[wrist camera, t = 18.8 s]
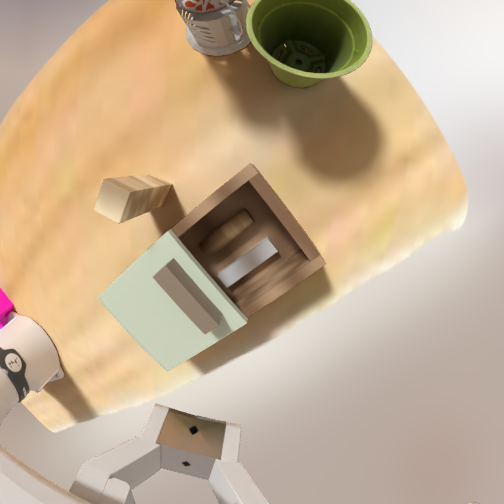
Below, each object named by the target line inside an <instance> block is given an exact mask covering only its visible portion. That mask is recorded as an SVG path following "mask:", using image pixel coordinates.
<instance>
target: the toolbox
mask: <svg viewBox="0 0 504 504" xmlns="http://www.w3.org/2000/svg"><path fill="white" fill-rule="evenodd" d="M171 230H172V231H173V232H174V234H175V235H176V236H177V237H178V238H179V240H180V241H181V242H182V243H183V245H184V246H185V247H186V248H187V249H188V251H189V252H190V253H191V254H192V255H193V257H194V258H195V259H196V260H197V261H198V262H199V264H200V265H201V266H202V267H203V268H204V270H205V271H206V272H207V273H208V274H209V275H210V277H211V278H212V279H213V280H214V281H215V282H216V284H217V285H218V286H219V287H220V288H221V289H222V290H223V292H224V293H225V294H226V295H227V296H228V297H229V298H230V300H231V301H232V302H233V303H234V304H235V305H236V306H237V307H238V309H239V310H240V311H241V312H242V313H243V314H244V315H245V316H246V317H247V318H248V317H249V316H251V315H252V314H254V313H255V312H257V311H258V310H260V309H261V308H263V307H264V306H266V305H267V304H269V303H270V302H272V301H273V300H275V299H276V298H278V297H279V296H281V295H282V294H284V293H285V292H287V291H288V290H290V289H291V288H293V287H294V286H295V285H297V284H298V283H300V282H301V281H303V280H304V279H306V278H307V277H308V276H310V275H311V274H313V273H314V272H315V271H317V270H318V269H320V268H321V267H323V266H324V265H325V264H326V263H325V261H324V259H323V258H322V256H321V254H320V253H319V251H318V249H317V248H316V246H315V245H314V243H313V242H312V241H311V239H310V238H309V237H308V235H307V234H306V233H305V231H304V230H303V228H302V227H301V226H300V224H299V223H298V222H297V220H296V219H295V218H294V216H293V215H292V214H291V212H290V211H289V210H288V208H287V207H286V206H285V204H284V203H283V202H282V200H281V199H280V198H279V197H278V195H277V194H276V193H275V191H274V190H273V189H272V188H271V186H270V185H269V184H268V182H267V181H266V180H265V179H264V177H263V176H262V175H261V174H260V172H259V171H258V170H257V169H256V167H255V166H254V165H253V164H251V163H250V164H249V165H248V166H247V167H245V168H244V169H243V170H241V171H240V172H239V173H238V174H236V175H235V176H234V177H233V178H231V179H230V180H229V181H228V182H226V183H225V184H224V185H223V186H221V187H220V188H219V189H218V190H216V191H215V192H214V193H213V194H211V195H210V196H209V197H208V198H207V199H205V200H204V201H203V202H202V203H201V204H199V205H198V206H197V207H196V208H195V209H194V210H192V211H191V212H190V213H189V214H188V215H187V216H185V217H184V218H183V219H182V220H181V221H180V222H178V223H177V224H176V225H175V226H174V227H173V228H172V229H171Z"/></svg>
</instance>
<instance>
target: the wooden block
mask: <svg viewBox="0 0 504 504" xmlns="http://www.w3.org/2000/svg"><path fill="white" fill-rule="evenodd" d="M171 186H172V184H171V183H169V182H167V181H165V180H163V179H160V178H158V177H156V176H154V175H152V174H151V175H139V176H128V177H118V178H109V179H104V180H103V183H102V186H101V189H100V192H99V195H98V198H97V202H96V205H95V208H94V210H95V211H97V212H99V213H100V214H102V215H104V216H106V217H108V218H110V219H111V220H113V221H115V222H117V223H119V224H120V223H122V222H125V221H127V220H129V219H132V218H134V217H137V216H139V215H142V214H144V213H147V212H149V211H152V210H154V209H157V208H159V207H162V206H163V205H164V202H165V200H166V197H167V195H168V193H169V190H170V188H171Z"/></svg>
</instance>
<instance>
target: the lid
mask: <svg viewBox="0 0 504 504" xmlns="http://www.w3.org/2000/svg"><path fill="white" fill-rule="evenodd" d="M98 299H99V300H100V302H101V303H102V304H103V305H104V306H105V307H106V309H107V310H108V311H109V312H110V313H111V314H112V316H113V317H114V318H115V319H116V320H117V321H118V322H119V323H120V324H121V326H122V327H123V328H124V329H125V330H126V331H127V332H128V333H129V334H130V335H131V336H132V337H133V338H134V339H135V341H136V342H137V343H138V344H139V345H140V346H141V347H142V348H143V349H144V350H145V351H146V352H147V353H148V354H149V355H150V356H151V357H152V358H153V359H154V360H155V361H157V362H158V363H159V364H160V365H161V366H162V367H163V368H164V369H165V370H166V371H169V370H171V369H172V368H174V367H176V366H178V365H179V364H181V363H183V362H185V361H186V360H188V359H190V358H191V357H193V356H195V355H196V354H198V353H200V352H201V351H203V350H205V349H206V348H208V347H210V346H211V345H213V344H215V343H216V342H218V341H220V340H221V339H223V338H224V337H226V336H228V335H229V334H231V333H232V332H234V331H236V330H237V329H239V328H240V327H242V326H244V325H245V324H247V320H248V319H247V317H246V316H245V315H244V314H243V313H242V312H241V311H240V310H239V309H238V307H237V306H236V305H235V304H234V303H233V302H232V301H231V300H230V298H229V297H228V296H227V295H226V294H225V293H224V292H223V290H222V289H221V288H220V287H219V286H218V285H217V284H216V282H215V281H214V280H213V279H212V278H211V277H210V275H209V274H208V273H207V272H206V271H205V270H204V268H203V267H202V266H201V265H200V264H199V262H198V261H197V260H196V259H195V258H194V257H193V255H192V254H191V253H190V252H189V251H188V249H187V248H186V247H185V246H184V245H183V243H182V242H181V241H180V240H179V238H178V237H177V236H176V235H175V234H174V232H173V231H172V230H171V229H170V230H169V231H167V232H166V233H165V234H164V235H163V236H162V237H160V238H159V239H158V240H157V241H156V242H155V243H154V244H153V245H152V246H151V247H149V248H148V249H147V250H146V251H145V252H144V253H143V254H142V255H141V256H140V257H139V258H138V259H137V260H136V261H134V262H133V263H132V264H131V265H130V266H129V267H128V268H127V269H126V270H125V271H124V272H123V273H122V274H121V275H120V276H119V277H118V278H117V279H116V280H115V281H114V282H113V283H112V284H111V285H110V286H109V287H108V288H107V289H106V290H105V291H104V292H103V293H102V294H101V295H100V296H99V297H98Z"/></svg>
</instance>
